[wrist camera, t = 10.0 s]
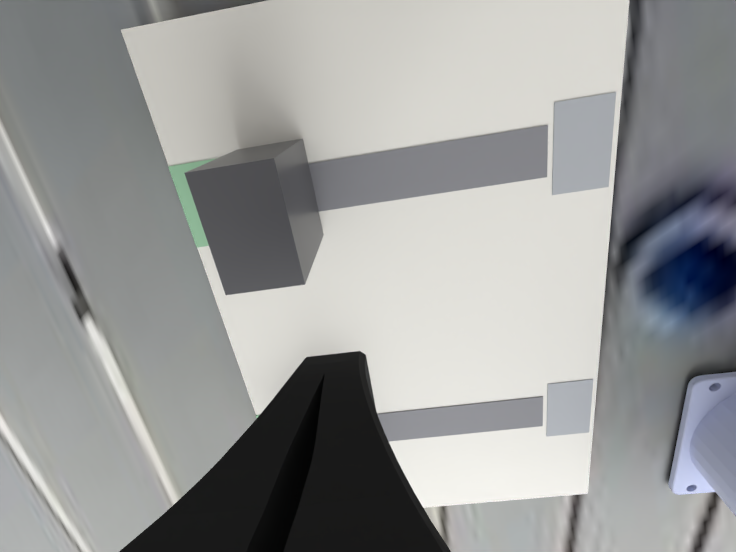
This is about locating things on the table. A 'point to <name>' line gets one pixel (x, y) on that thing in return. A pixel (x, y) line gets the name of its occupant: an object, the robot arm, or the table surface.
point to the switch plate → (422, 212)
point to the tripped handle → (259, 216)
